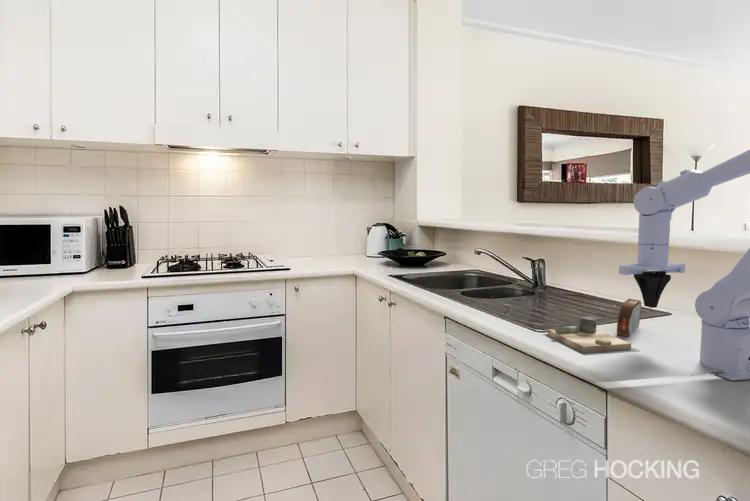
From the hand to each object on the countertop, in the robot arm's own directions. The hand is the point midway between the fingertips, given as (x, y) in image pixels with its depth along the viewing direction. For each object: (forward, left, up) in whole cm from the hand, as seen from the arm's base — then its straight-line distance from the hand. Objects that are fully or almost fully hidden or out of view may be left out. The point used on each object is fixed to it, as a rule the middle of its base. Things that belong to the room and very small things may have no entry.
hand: (650, 306), depth 101 cm
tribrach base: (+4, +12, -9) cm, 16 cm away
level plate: (+5, +12, -8) cm, 15 cm away
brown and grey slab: (+11, -4, -10) cm, 15 cm away
